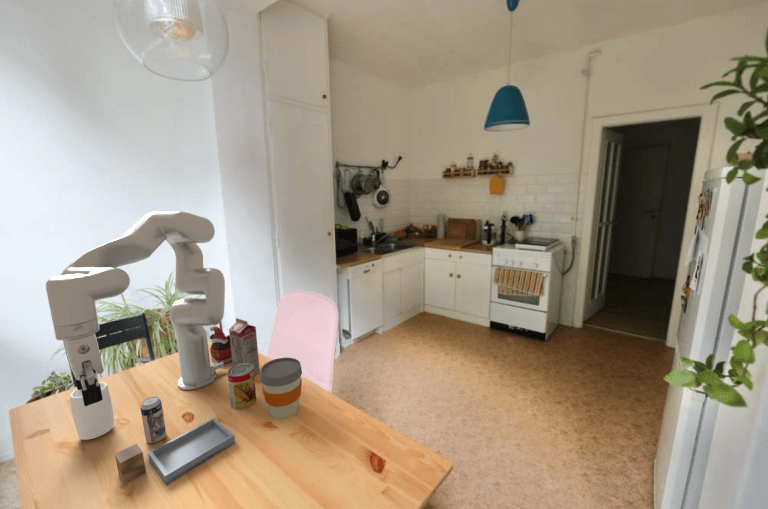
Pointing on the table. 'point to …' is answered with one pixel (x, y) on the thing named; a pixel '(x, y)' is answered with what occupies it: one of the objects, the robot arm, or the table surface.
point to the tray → (190, 449)
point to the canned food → (241, 386)
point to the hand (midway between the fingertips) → (89, 394)
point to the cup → (92, 414)
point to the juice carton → (244, 344)
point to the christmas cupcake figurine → (220, 345)
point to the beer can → (153, 420)
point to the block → (130, 463)
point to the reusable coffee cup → (281, 386)
